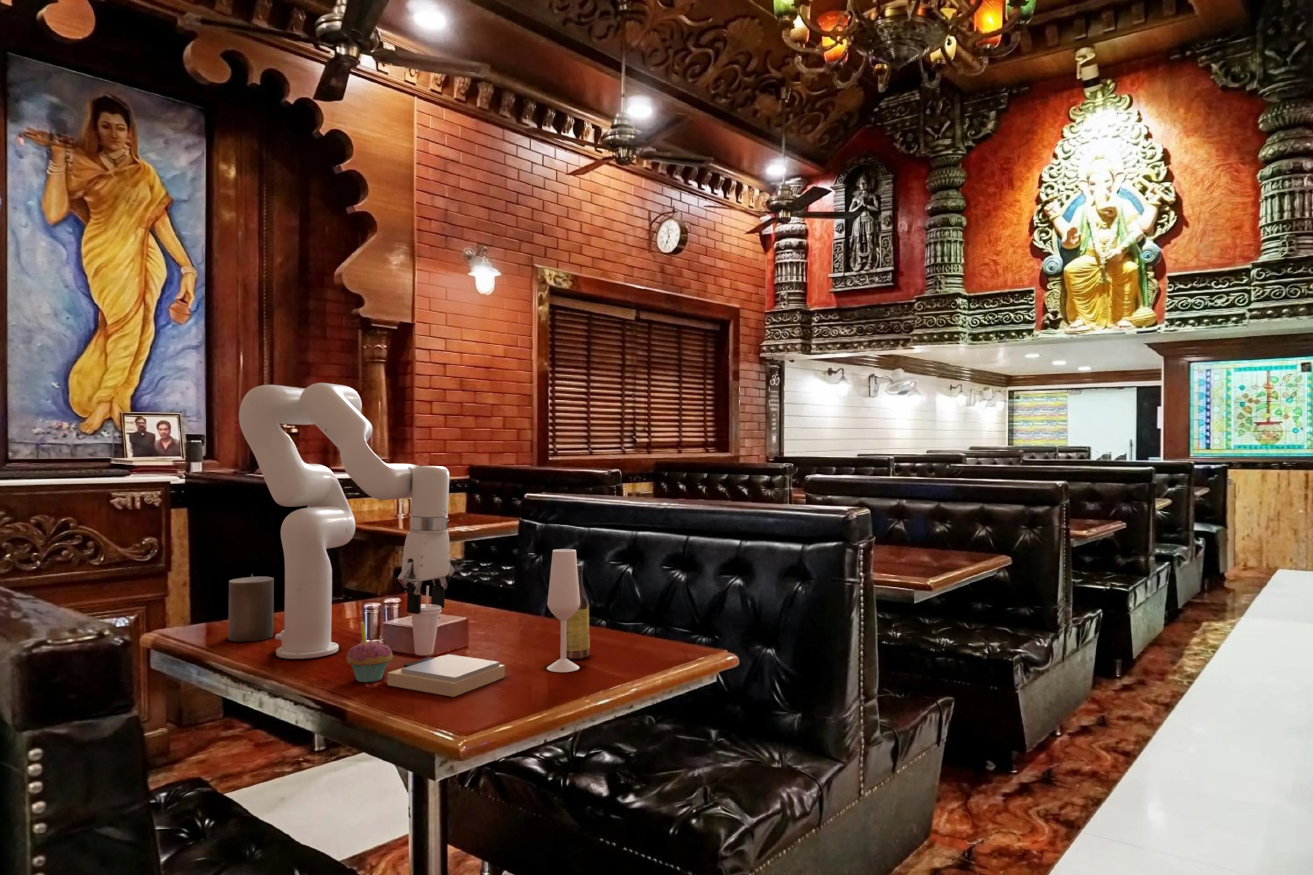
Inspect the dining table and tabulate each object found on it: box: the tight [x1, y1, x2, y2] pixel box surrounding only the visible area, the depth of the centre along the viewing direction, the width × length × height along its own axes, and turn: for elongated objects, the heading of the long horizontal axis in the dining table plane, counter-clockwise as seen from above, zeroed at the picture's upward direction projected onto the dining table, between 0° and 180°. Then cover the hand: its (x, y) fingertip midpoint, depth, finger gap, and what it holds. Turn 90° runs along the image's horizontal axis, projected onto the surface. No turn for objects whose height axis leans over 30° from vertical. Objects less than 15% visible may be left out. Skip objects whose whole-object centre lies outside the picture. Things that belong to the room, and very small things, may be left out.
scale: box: [386, 653, 506, 698], centre depth 159 cm, size 16×15×3 cm
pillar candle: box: [227, 573, 275, 643], centre depth 196 cm, size 10×10×15 cm
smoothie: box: [411, 585, 442, 656], centre depth 174 cm, size 6×6×14 cm
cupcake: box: [346, 617, 394, 683], centre depth 161 cm, size 9×8×12 cm
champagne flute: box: [546, 548, 580, 673], centre depth 170 cm, size 7×7×24 cm
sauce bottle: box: [559, 563, 591, 660], centre depth 180 cm, size 7×6×20 cm
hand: (425, 609), depth 174 cm, fingers closed on smoothie, 6 cm apart
